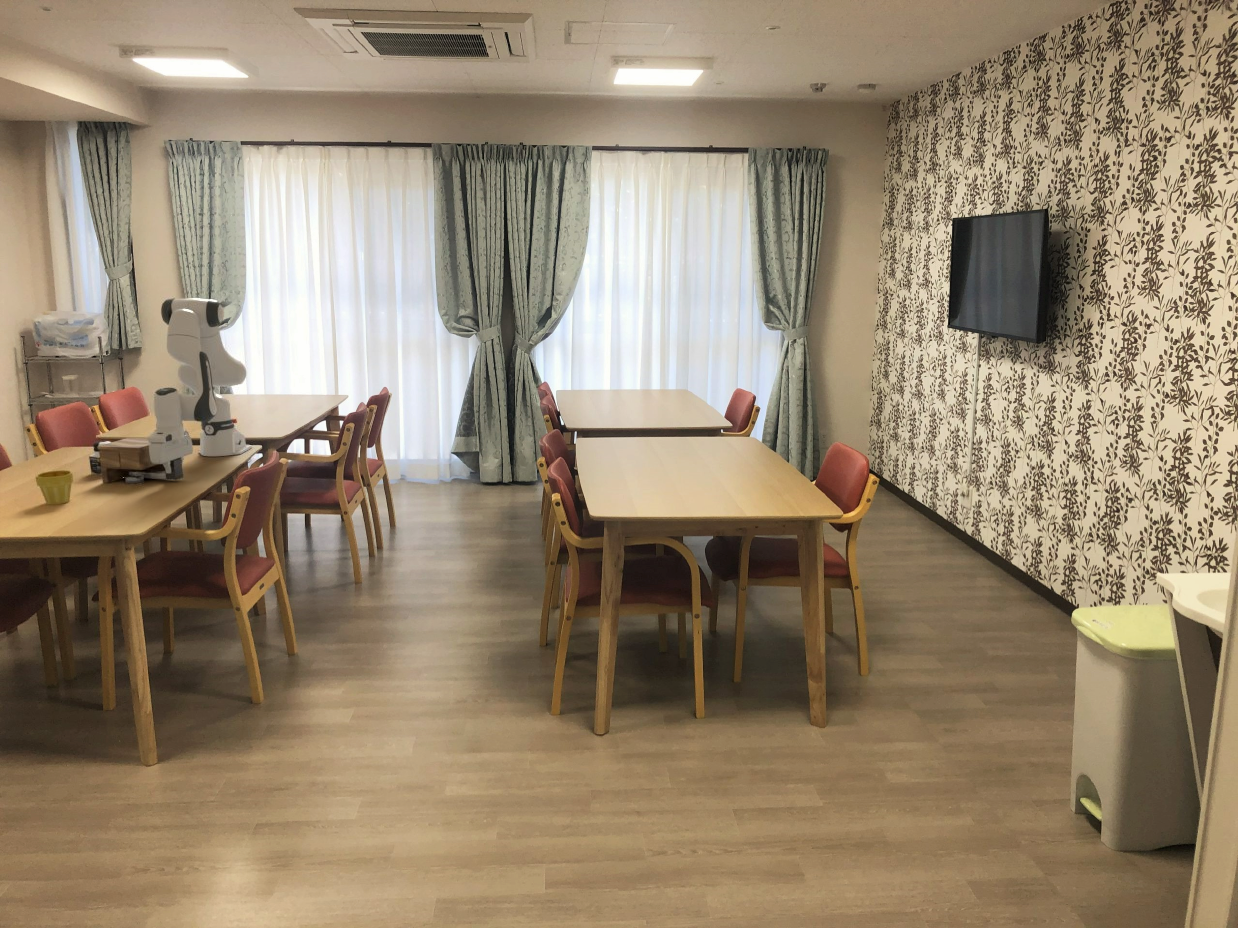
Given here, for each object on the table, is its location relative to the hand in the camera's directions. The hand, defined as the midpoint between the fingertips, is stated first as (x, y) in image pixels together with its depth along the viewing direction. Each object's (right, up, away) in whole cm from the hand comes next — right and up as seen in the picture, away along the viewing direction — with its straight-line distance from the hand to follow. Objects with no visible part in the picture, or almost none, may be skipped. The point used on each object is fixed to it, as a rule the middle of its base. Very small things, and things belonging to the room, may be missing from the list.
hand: (174, 471), depth 330 cm
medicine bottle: (-33, -1, +14) cm, 35 cm away
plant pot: (-25, -10, -29) cm, 39 cm away
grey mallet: (-8, -2, +2) cm, 8 cm away
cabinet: (-16, -3, +5) cm, 17 cm away
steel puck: (-14, -4, -1) cm, 14 cm away
